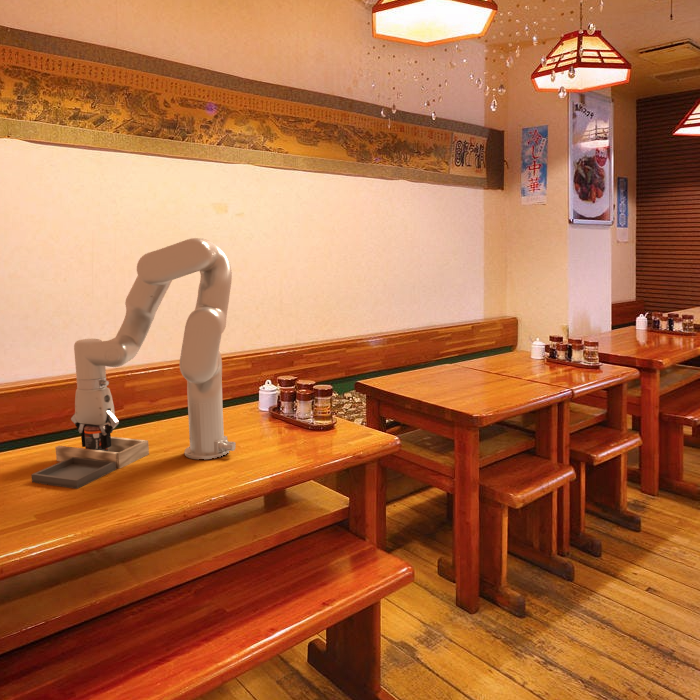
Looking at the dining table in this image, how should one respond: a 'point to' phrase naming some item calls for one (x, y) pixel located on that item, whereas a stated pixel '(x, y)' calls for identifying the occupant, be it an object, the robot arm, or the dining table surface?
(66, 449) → the bay
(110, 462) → the tray
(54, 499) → the dining table surface
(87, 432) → the supplement bottle
